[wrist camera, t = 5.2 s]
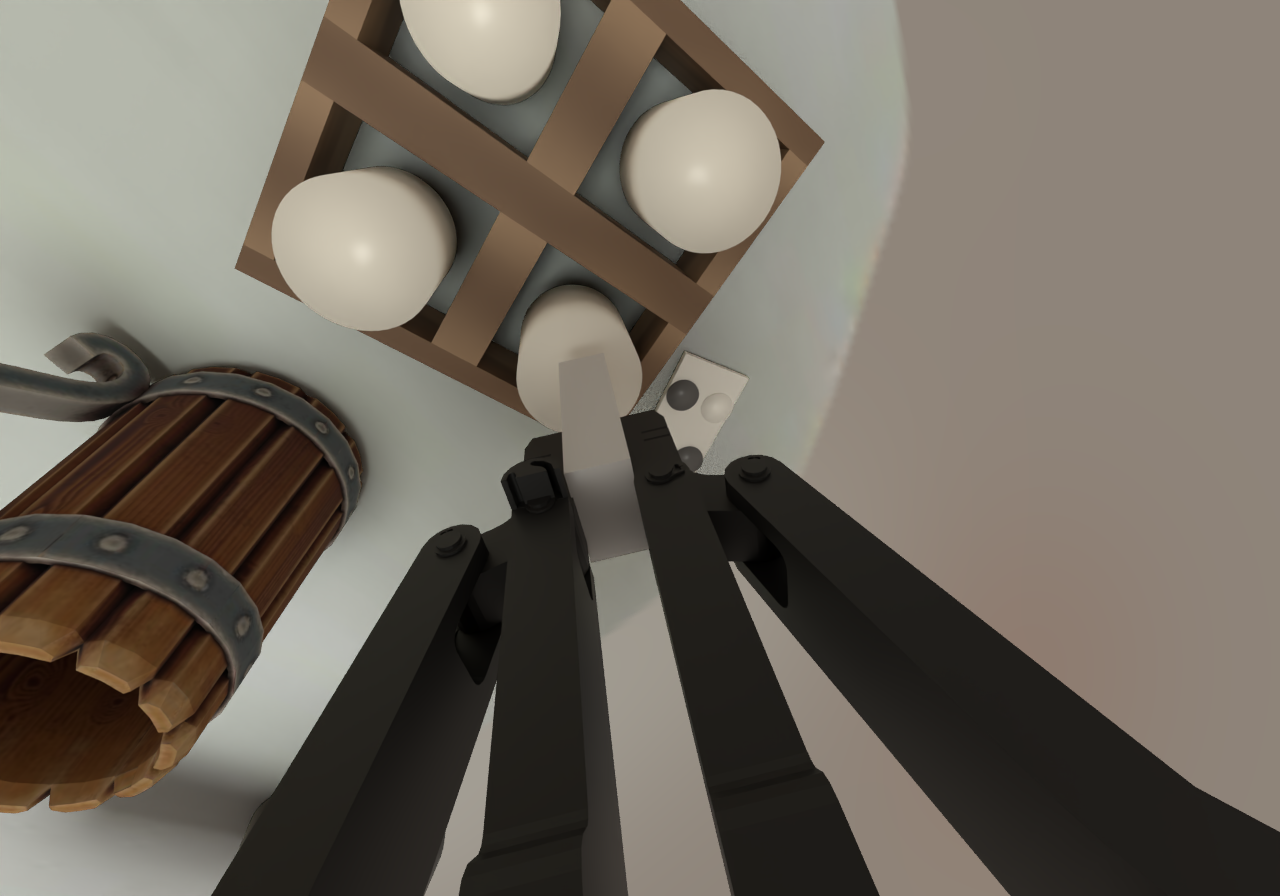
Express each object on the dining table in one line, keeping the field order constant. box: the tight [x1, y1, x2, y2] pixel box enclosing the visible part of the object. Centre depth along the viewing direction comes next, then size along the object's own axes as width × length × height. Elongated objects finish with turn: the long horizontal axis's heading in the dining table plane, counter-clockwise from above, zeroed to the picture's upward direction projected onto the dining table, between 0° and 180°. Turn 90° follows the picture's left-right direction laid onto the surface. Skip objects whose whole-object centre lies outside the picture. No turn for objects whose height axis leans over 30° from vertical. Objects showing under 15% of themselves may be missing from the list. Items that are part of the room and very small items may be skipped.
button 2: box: [516, 285, 642, 432], centre depth 22 cm, size 5×5×5 cm
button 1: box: [272, 166, 457, 331], centre depth 18 cm, size 5×5×5 cm
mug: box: [0, 333, 363, 813], centre depth 20 cm, size 16×11×15 cm
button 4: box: [620, 89, 781, 253], centre depth 19 cm, size 5×5×5 cm
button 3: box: [400, 0, 561, 105], centre depth 18 cm, size 5×5×5 cm
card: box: [654, 351, 749, 473], centre depth 30 cm, size 8×4×1 cm, turn 155°
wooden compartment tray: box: [235, 0, 824, 421], centre depth 22 cm, size 16×16×4 cm
